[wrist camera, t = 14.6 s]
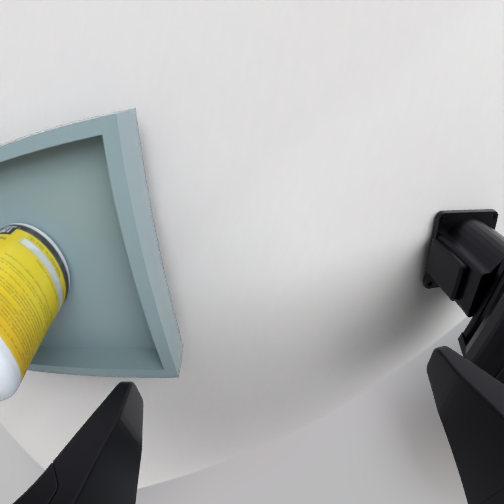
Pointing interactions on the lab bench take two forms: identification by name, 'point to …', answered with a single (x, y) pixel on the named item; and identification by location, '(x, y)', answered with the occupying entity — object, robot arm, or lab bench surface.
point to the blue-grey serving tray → (96, 247)
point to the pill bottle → (27, 298)
